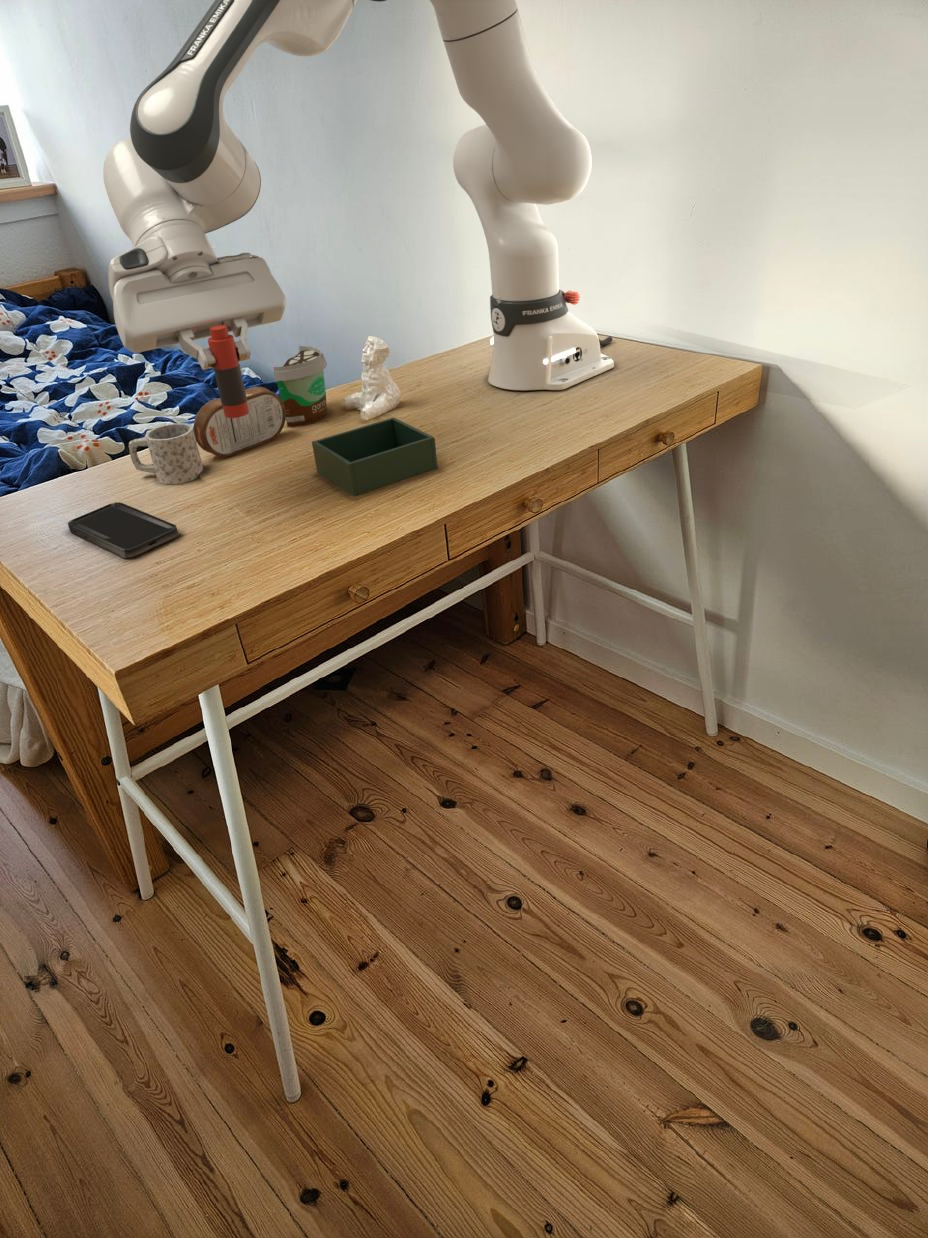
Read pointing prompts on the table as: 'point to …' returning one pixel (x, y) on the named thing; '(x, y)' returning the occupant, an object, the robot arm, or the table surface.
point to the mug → (170, 453)
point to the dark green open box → (375, 455)
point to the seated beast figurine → (374, 383)
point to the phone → (123, 529)
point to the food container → (303, 387)
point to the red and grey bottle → (228, 373)
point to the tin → (240, 424)
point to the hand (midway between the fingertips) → (227, 361)
